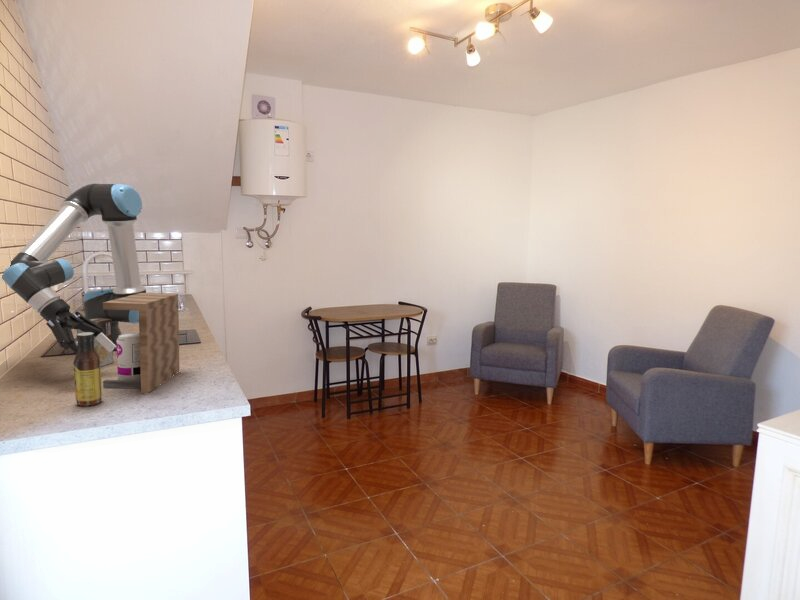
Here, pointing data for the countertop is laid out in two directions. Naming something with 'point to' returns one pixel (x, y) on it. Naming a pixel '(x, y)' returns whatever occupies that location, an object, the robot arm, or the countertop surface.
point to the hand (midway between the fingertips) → (102, 354)
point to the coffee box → (103, 353)
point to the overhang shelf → (152, 338)
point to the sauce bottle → (87, 371)
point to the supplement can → (128, 357)
